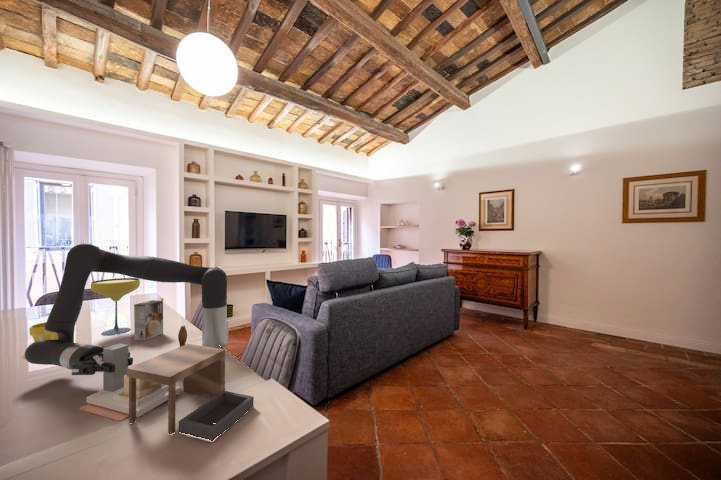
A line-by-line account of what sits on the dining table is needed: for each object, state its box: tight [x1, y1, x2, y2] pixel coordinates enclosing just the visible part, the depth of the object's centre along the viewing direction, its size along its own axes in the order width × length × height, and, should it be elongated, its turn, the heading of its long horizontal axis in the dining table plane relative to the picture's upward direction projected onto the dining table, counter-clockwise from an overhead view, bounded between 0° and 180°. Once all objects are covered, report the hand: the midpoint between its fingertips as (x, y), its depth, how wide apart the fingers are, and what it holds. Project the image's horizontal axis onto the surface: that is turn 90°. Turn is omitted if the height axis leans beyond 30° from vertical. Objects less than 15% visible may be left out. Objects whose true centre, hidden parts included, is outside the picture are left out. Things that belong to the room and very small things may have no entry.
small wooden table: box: [127, 343, 226, 434], centre depth 75 cm, size 17×14×14 cm
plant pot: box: [29, 321, 58, 343], centre depth 117 cm, size 10×10×10 cm
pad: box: [78, 403, 129, 421], centre depth 81 cm, size 16×16×1 cm
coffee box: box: [133, 300, 164, 341], centre depth 130 cm, size 9×6×16 cm
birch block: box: [124, 375, 161, 400], centre depth 79 cm, size 6×6×6 cm
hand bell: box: [177, 325, 188, 347], centre depth 96 cm, size 8×8×16 cm
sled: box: [85, 343, 182, 417], centre depth 80 cm, size 12×20×14 cm, turn 73°
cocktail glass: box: [90, 277, 141, 336], centre depth 137 cm, size 18×18×25 cm
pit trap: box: [178, 390, 255, 441], centre depth 71 cm, size 14×10×3 cm
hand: (122, 365), depth 82 cm, fingers closed on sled, 4 cm apart
